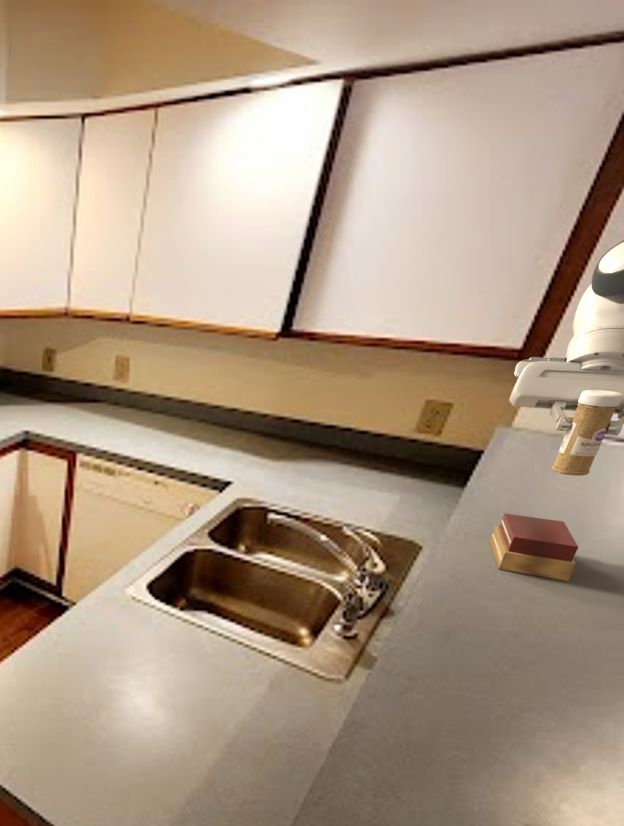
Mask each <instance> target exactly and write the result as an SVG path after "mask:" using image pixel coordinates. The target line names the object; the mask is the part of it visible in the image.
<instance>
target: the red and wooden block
mask: <svg viewBox="0 0 624 826" xmlns="http://www.w3.org/2000/svg"><path fill="white" fill-rule="evenodd" d="M489 543H490V546H491V549H493V550H492V553H493V555H494V559H495V562H496V565H497V569H498V570H502V571H508V572H514V573H520V574H525V575H530V576H536V577H542V578H548V579H553V580H559V581H565V582H569V581H570V578H571V576H572V574H573V572H574V570H575V568H576V565H577V563H576V561H575V559H574V558H575V556H576V553H577V551H578V549H579V545H578V543H577V542H576V540H575V538H574V536H573V535H572V533H571V532H570V530H569V528H568V526H567V525H566V523H565V522H564V521H563V520H554V519H548V518H540V517H533V516H525V515H520V514H511V513H504V514H503V517H502V519H501V521H500V524H499V525H494V529H493V531H492V534H491V536H490V539H489Z"/></svg>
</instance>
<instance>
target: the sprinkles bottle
mask: <svg viewBox="0 0 624 826" xmlns="http://www.w3.org/2000/svg"><path fill="white" fill-rule="evenodd" d="M622 397H623V395H622V394H621V393H618V392H613V391H605V390H586V391H583V392H582V393H581V395H580V398H579V400H578V403H579V404H578V407H577V409H576V411H574V414H573V417H572V418H573V420H572V422H571V423H572V424H571V427H570V429H568V431H565V435H564V437H563V440H562V442H561V445H560V447H559V449H558V454H557V455H556V459H555V460H554V464H553V465H552V466H551V470H552V471H553V472H555V473H558V474H562V475H564V476H565V475H566V476H577V477H578V476H579V477H581V476H587V475H589V474H590V469H591V467H592V464H593V463H594V460H595V457H596V456H597V454H598V452H599V451H600V447H601V446H602V443H603V441H604V438H605V436H606V435H605V433H606V430H607V428H608V426H609V423H610V421H612V419H613V416H614V415H615V414H614V412H615V409H616V408H617V407H616V406H618V405H619V404H620V402H621V399H622Z"/></svg>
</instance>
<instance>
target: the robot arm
mask: <svg viewBox="0 0 624 826" xmlns="http://www.w3.org/2000/svg"><path fill="white" fill-rule="evenodd" d="M576 307H577V308H576V312H575V314H574V318H573V322H572V327H571V328H572V329H571V330H572V333H573V336H572V338H571V339H570V340H569V343H568V344H567V349H566V354H565V357H542V356H541V357H540V356H531V357H530V356H529V358H528V359H523V360H520V361H519V362H517V364H516V365H515V367H514V372H513V375H514V376H515V378H516V379H517V380H516V382H515V384H514V386H513V389H512V390H511V394H510V396H509V400H508V401H509V403H510V404H511V405H512V406H513V407H517V408H528V409H529V408H530V409H546V410H549V415H550V416H551V418H552V419H553V421H554V422H555V423H556V425H555V429H554V430H555V431H558V432H567V431H568V429H570V427H571V424H572V423H571V422H572V420H573V417H571V416H570V417H568V416H567V415H566V414H565V412H564V411H571V412H575V411H576V409H577V407H578V404H579V403H578V400H579V398H580V395H581V393H582V392H583V391H586V390H605V391H613V392H618V393H621V394H622V395H623V397H622V399H621V402H620V404H619V405H618V406H616V407H617V408H616V409H615V412H614V414H613V415H617V417H616V419H618V420H611V421H610V423H609V426H608V428H607V430H606V433H605V436H616V437H617V436H619V435H620V433H621V431H622V429H623V425H624V240H622V241H620V242H618V243H617V244H615V245H614V246H612V247H611V248H609V249H608V250H607V251H605V253H604V254H603V255H601V257H600V258H599V260H598V262H597V263H596V265H595V267H594V270H593V272H592V275H591V283H590V284H589V286H588V287H587V289H586V290H585V292H584V293H583V295H582V296H581V298H580V300H579V302H578V305H577V306H576Z"/></svg>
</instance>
